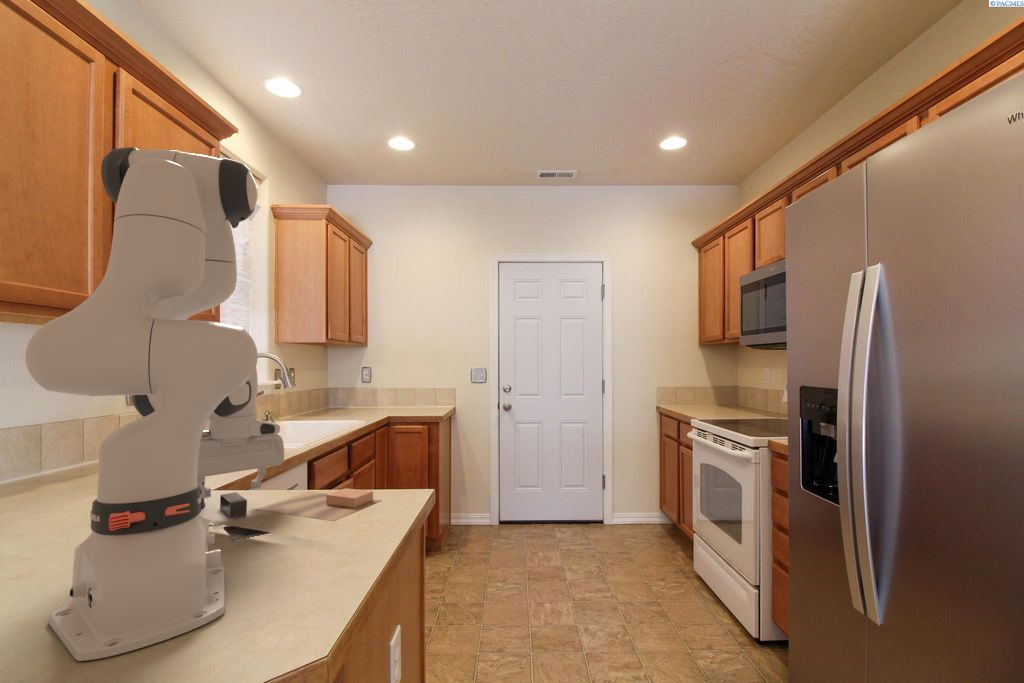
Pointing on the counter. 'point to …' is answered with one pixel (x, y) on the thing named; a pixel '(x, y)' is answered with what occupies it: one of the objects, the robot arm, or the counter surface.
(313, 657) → the counter surface
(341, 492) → the tile
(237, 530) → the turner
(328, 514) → the board
